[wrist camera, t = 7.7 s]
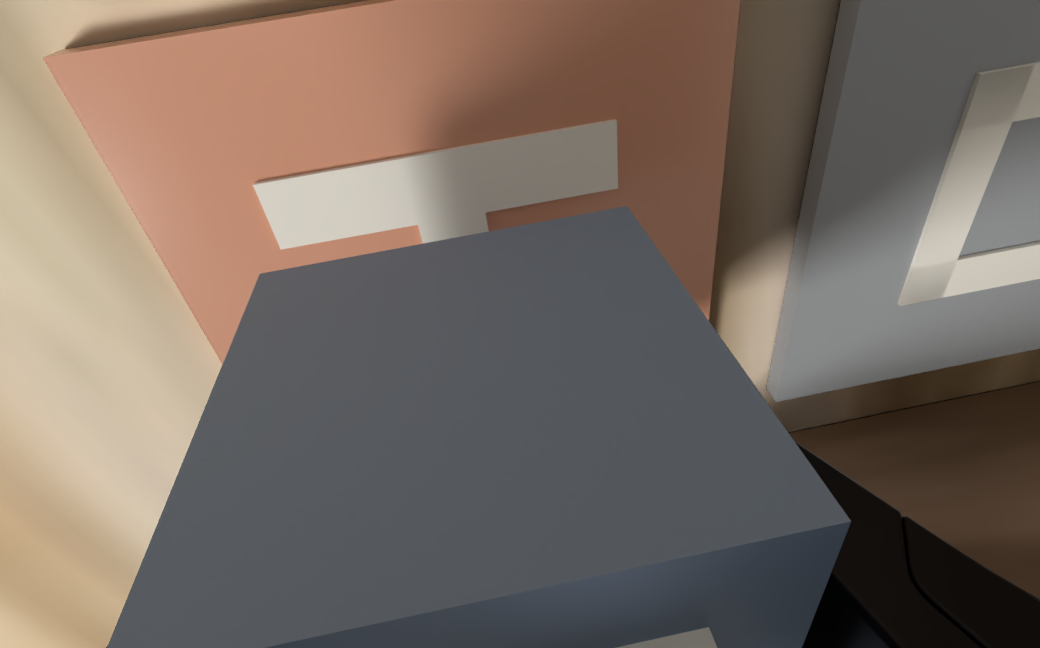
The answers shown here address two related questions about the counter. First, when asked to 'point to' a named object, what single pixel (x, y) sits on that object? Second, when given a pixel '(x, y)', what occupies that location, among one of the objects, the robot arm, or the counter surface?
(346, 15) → the terracotta pad
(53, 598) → the counter surface
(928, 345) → the grey pad
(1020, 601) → the robot arm
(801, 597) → the letter cube
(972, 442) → the walnut screen
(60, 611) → the counter surface
